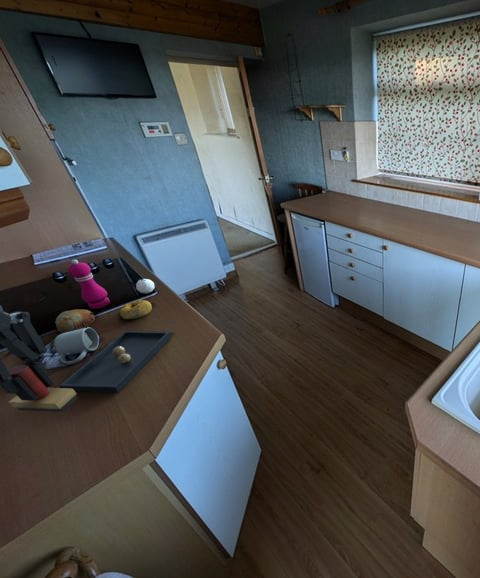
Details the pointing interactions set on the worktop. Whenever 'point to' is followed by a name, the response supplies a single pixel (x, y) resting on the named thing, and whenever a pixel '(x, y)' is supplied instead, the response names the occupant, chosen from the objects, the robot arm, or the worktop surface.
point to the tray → (117, 362)
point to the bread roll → (74, 320)
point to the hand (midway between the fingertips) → (38, 391)
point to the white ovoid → (145, 285)
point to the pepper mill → (88, 285)
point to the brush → (41, 393)
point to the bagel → (135, 309)
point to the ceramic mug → (76, 343)
